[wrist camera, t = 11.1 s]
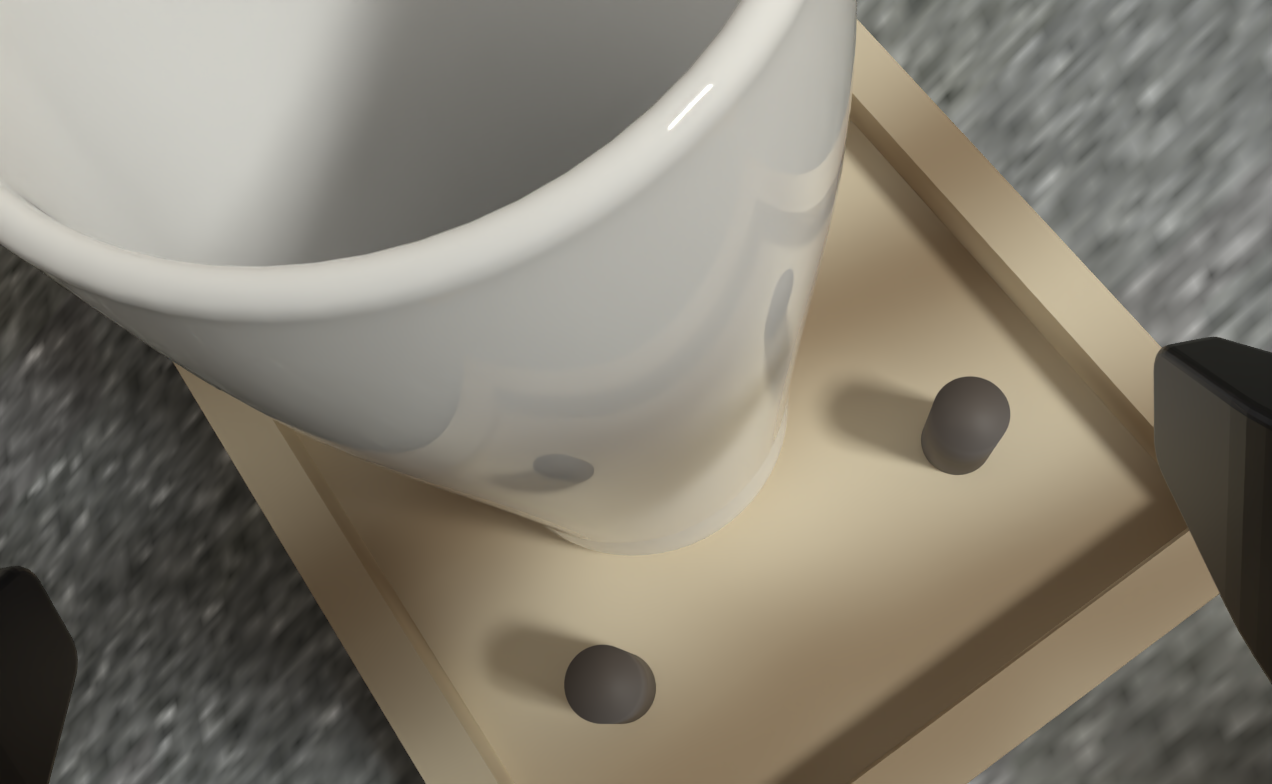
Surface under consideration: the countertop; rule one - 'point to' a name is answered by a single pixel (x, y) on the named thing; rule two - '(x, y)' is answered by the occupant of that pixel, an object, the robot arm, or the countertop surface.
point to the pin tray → (797, 526)
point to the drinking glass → (454, 227)
